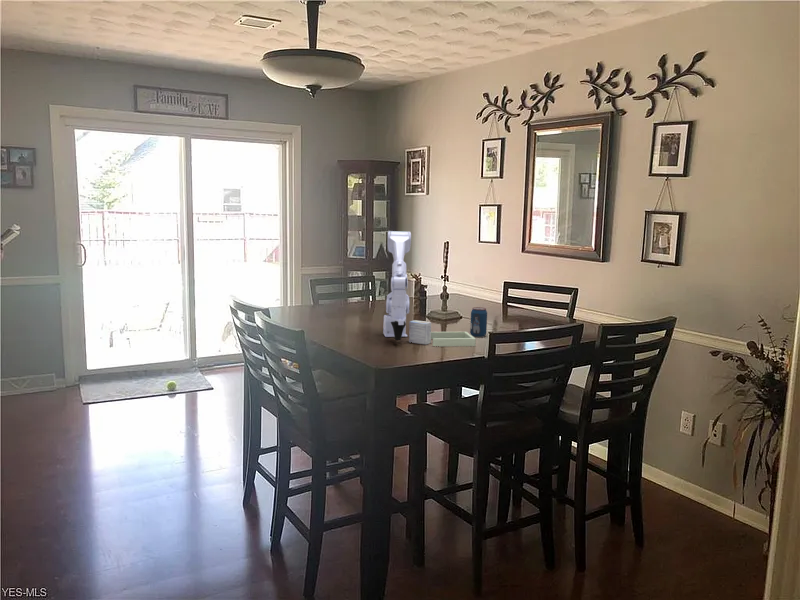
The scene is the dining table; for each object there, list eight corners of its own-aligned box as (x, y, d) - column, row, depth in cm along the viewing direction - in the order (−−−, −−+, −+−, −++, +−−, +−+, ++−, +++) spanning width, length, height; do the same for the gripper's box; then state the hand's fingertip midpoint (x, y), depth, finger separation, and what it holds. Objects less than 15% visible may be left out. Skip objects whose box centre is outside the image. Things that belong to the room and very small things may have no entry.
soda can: (483, 334, 277) (484, 307, 276) (488, 337, 270) (489, 309, 269) (468, 334, 276) (469, 307, 274) (472, 337, 269) (473, 309, 268)
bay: (433, 346, 250) (433, 339, 249) (426, 338, 264) (426, 331, 263) (475, 346, 252) (475, 338, 252) (466, 338, 267) (466, 331, 266)
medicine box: (431, 343, 256) (431, 322, 255) (425, 345, 252) (426, 323, 251) (413, 340, 260) (414, 319, 259) (408, 342, 256) (409, 321, 255)
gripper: (386, 303, 259) (385, 336, 261) (391, 309, 245) (390, 343, 247) (403, 303, 260) (402, 336, 262) (409, 309, 246) (408, 343, 248)
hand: (397, 339), depth 255 cm, fingers closed
